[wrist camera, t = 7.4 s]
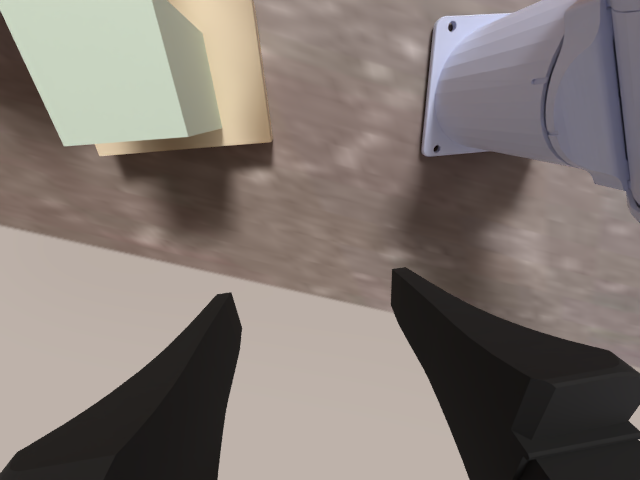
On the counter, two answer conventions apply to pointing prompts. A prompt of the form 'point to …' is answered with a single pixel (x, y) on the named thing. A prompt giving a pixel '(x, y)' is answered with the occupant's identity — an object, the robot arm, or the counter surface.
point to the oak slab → (221, 79)
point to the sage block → (115, 68)
